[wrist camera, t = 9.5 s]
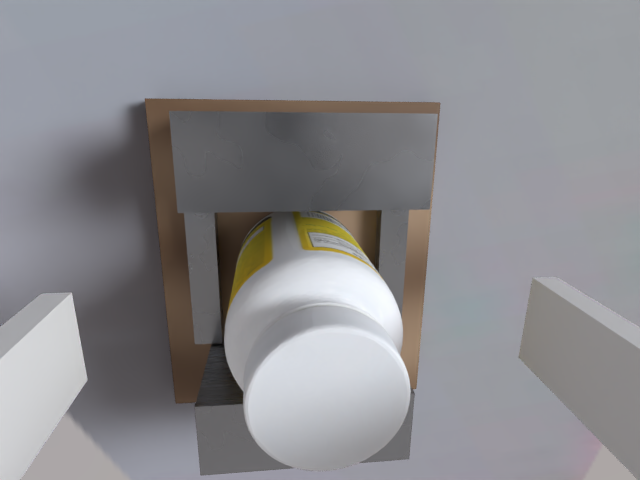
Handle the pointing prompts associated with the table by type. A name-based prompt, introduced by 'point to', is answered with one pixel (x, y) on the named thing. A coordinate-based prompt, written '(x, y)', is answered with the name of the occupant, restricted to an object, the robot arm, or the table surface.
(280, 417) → the supplement bottle
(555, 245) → the table surface
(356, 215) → the mount board
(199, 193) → the grey rectangular frame
